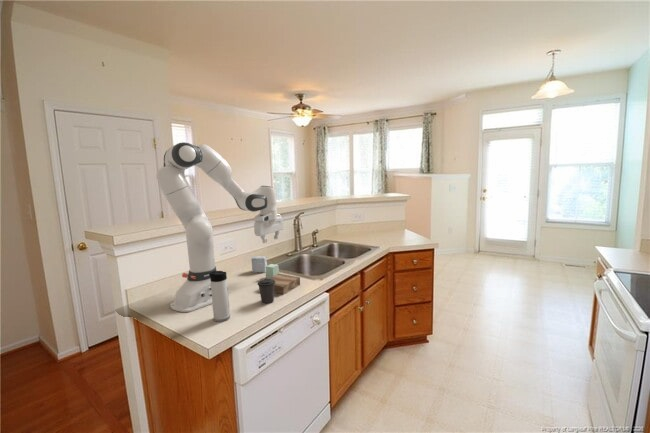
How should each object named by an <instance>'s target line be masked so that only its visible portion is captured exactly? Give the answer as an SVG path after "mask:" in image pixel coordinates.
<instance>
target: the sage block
mask: <svg viewBox="0 0 650 433" xmlns="http://www.w3.org/2000/svg"><path fill="white" fill-rule="evenodd" d="M278 273H279V274H280V268H279V264H276V263H275V264H274V263H270V264H267V266H266V272H265V279H268V278H270V277H272V276H274V275H276V274H278Z"/></svg>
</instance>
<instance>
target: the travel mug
mask: <svg viewBox="0 0 650 433" xmlns="http://www.w3.org/2000/svg"><path fill="white" fill-rule="evenodd" d="M209 275H210V282H211V293H212V304H211V305H212V311H213V312H212V313H213V320H214V321H215V323H223V322H226V321H228V320H229V319H230V318H231V310H230V299H229V287H228V276H227V271H223V270H216V271H213V272H210V273H209Z"/></svg>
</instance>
